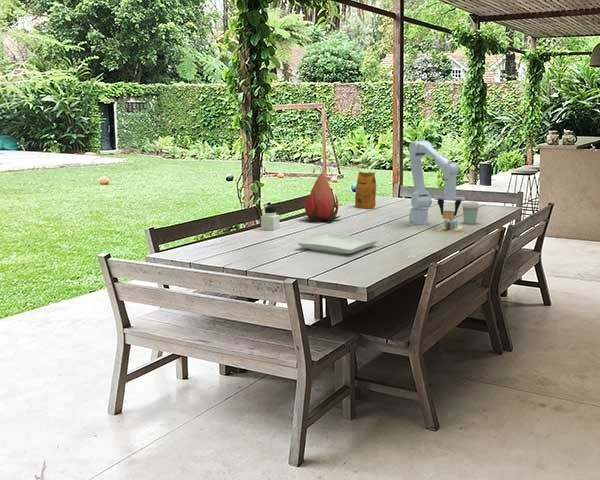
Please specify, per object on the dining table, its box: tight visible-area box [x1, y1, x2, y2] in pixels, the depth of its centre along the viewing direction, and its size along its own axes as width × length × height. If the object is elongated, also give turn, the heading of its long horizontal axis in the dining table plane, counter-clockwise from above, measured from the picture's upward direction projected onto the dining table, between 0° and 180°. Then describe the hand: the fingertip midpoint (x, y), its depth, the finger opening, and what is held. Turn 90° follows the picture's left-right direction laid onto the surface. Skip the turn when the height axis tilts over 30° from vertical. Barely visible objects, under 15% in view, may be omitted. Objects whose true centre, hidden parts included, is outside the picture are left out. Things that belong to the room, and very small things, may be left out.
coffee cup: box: [462, 201, 480, 226], centre depth 367 cm, size 9×8×12 cm
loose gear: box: [441, 210, 456, 220], centre depth 348 cm, size 6×6×4 cm
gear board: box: [435, 223, 464, 233], centre depth 354 cm, size 11×18×4 cm, turn 159°
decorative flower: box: [303, 164, 342, 223], centre depth 380 cm, size 22×23×30 cm
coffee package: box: [354, 171, 377, 210], centre depth 426 cm, size 10×12×22 cm
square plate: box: [297, 233, 379, 255], centre depth 311 cm, size 27×27×4 cm
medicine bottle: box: [260, 204, 281, 232], centre depth 354 cm, size 7×7×12 cm
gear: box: [443, 219, 458, 229], centre depth 356 cm, size 6×6×4 cm
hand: (448, 215), depth 348 cm, fingers closed on loose gear, 6 cm apart
